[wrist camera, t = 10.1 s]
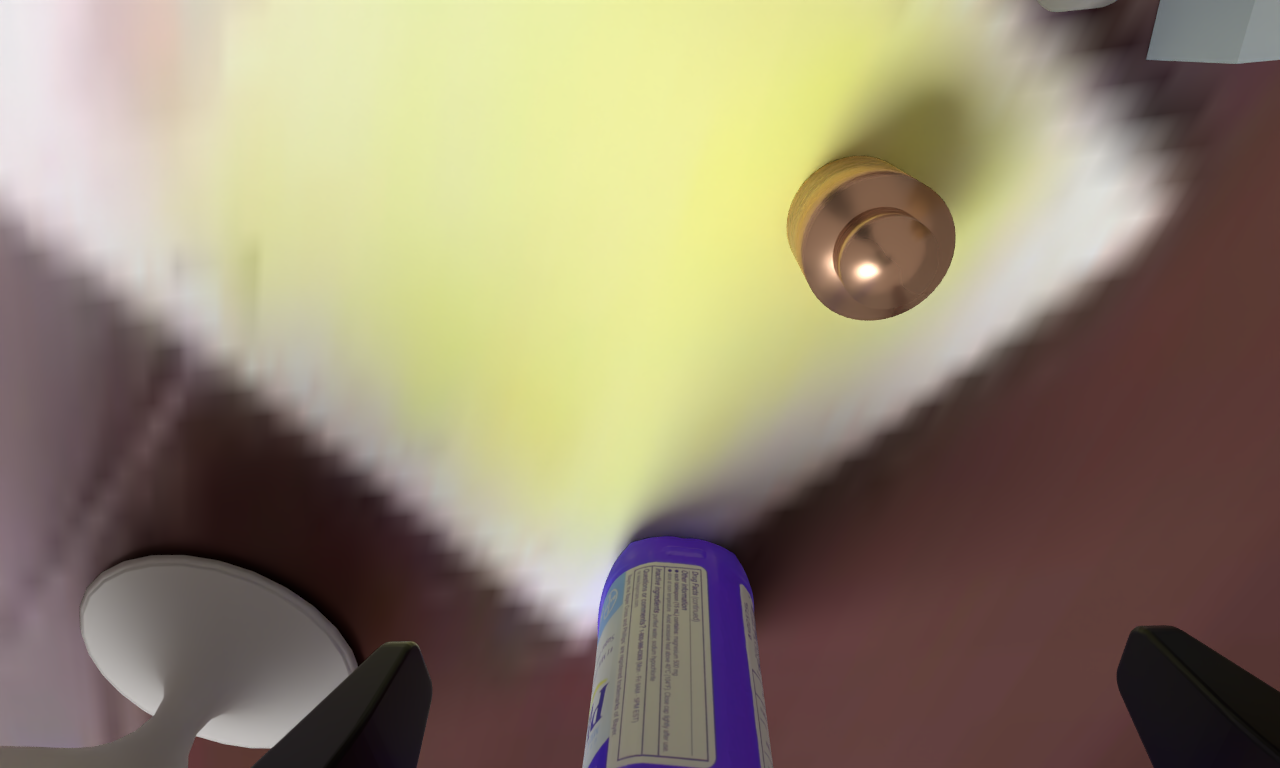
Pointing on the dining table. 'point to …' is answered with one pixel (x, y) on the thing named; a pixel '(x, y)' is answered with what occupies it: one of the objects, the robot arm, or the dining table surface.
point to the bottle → (677, 662)
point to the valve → (1205, 29)
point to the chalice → (199, 660)
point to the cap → (869, 237)
